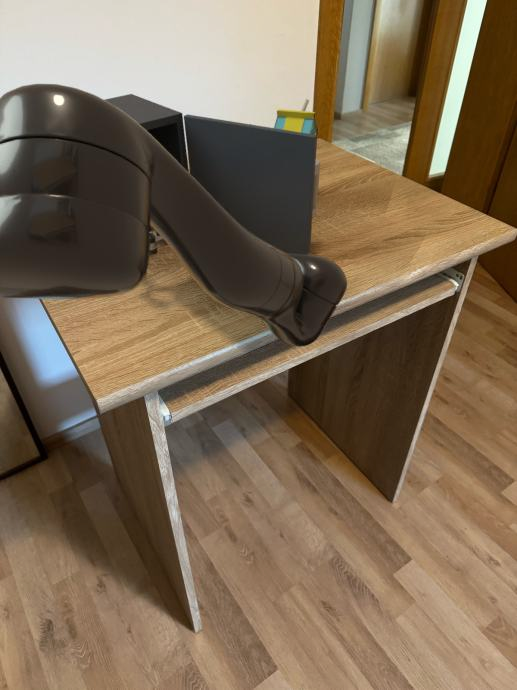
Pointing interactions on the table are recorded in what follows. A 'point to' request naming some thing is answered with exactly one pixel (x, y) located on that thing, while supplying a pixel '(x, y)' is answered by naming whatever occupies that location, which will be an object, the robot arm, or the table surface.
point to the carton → (297, 120)
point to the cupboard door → (258, 176)
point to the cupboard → (157, 123)
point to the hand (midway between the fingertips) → (152, 206)
